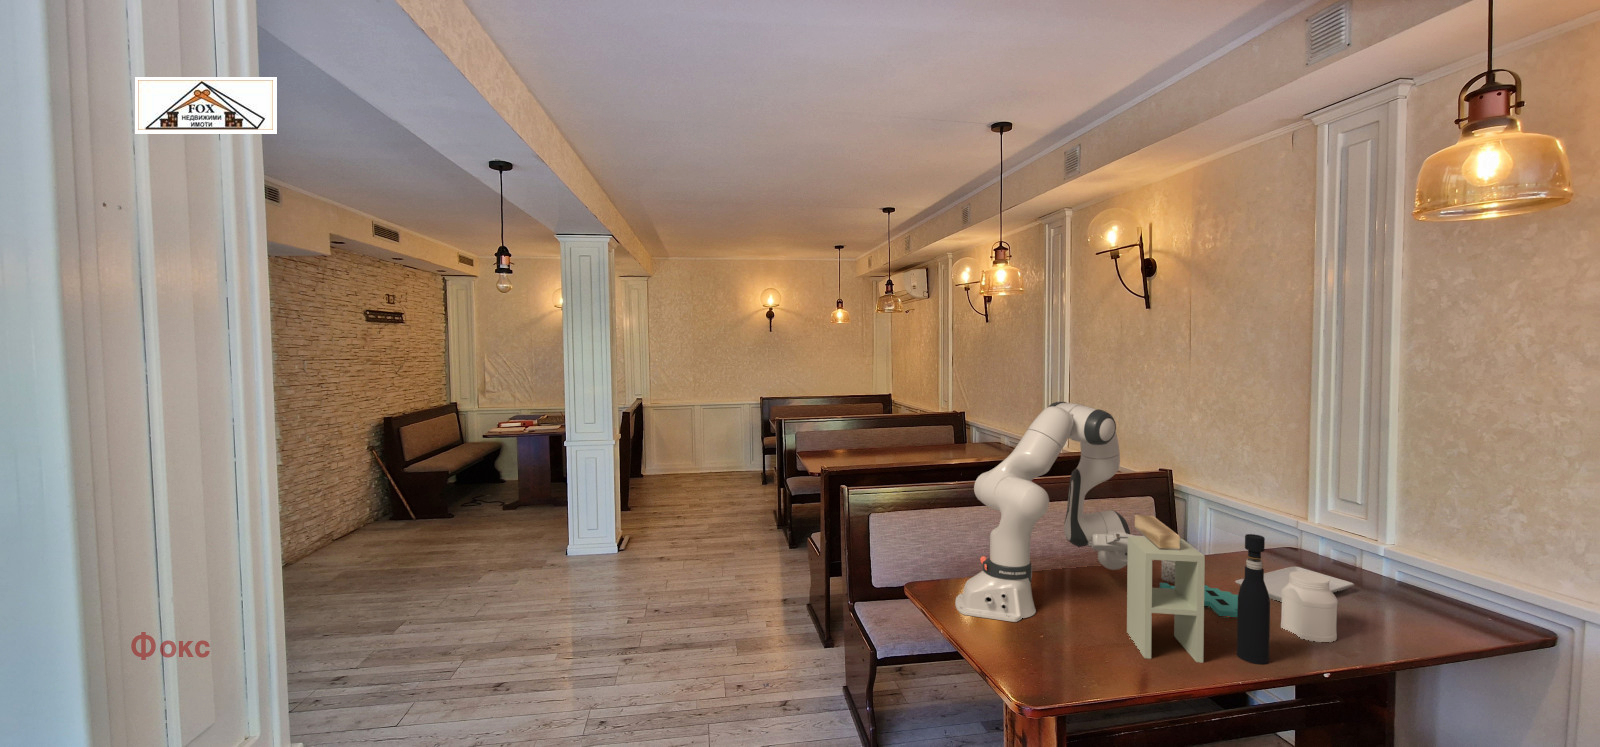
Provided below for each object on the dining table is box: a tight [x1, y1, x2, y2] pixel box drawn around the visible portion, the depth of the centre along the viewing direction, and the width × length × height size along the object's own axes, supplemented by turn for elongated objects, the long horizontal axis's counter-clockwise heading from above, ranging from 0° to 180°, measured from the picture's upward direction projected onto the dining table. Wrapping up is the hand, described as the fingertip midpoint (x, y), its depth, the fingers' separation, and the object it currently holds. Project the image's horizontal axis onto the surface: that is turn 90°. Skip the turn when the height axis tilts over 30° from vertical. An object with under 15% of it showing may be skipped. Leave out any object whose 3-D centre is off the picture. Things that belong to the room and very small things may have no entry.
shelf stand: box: [1126, 536, 1206, 664], centre depth 160 cm, size 13×14×26 cm
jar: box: [1280, 571, 1338, 643], centre depth 167 cm, size 12×10×15 cm
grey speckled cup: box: [1160, 560, 1175, 584], centre depth 208 cm, size 10×7×7 cm, turn 159°
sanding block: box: [1134, 514, 1181, 550], centre depth 166 cm, size 4×19×4 cm, turn 169°
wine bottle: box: [1236, 533, 1271, 665], centre depth 154 cm, size 6×6×30 cm
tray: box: [1234, 566, 1355, 603], centre depth 195 cm, size 17×32×4 cm, turn 113°
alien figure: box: [1159, 582, 1238, 617], centre depth 188 cm, size 20×2×20 cm
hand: (1135, 537), depth 182 cm, fingers open, 8 cm apart
